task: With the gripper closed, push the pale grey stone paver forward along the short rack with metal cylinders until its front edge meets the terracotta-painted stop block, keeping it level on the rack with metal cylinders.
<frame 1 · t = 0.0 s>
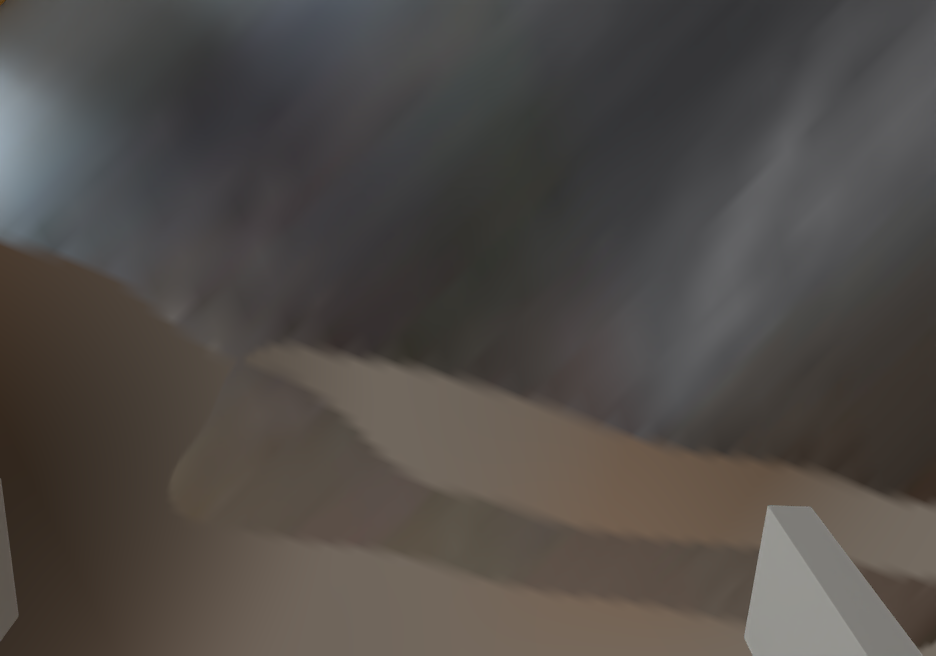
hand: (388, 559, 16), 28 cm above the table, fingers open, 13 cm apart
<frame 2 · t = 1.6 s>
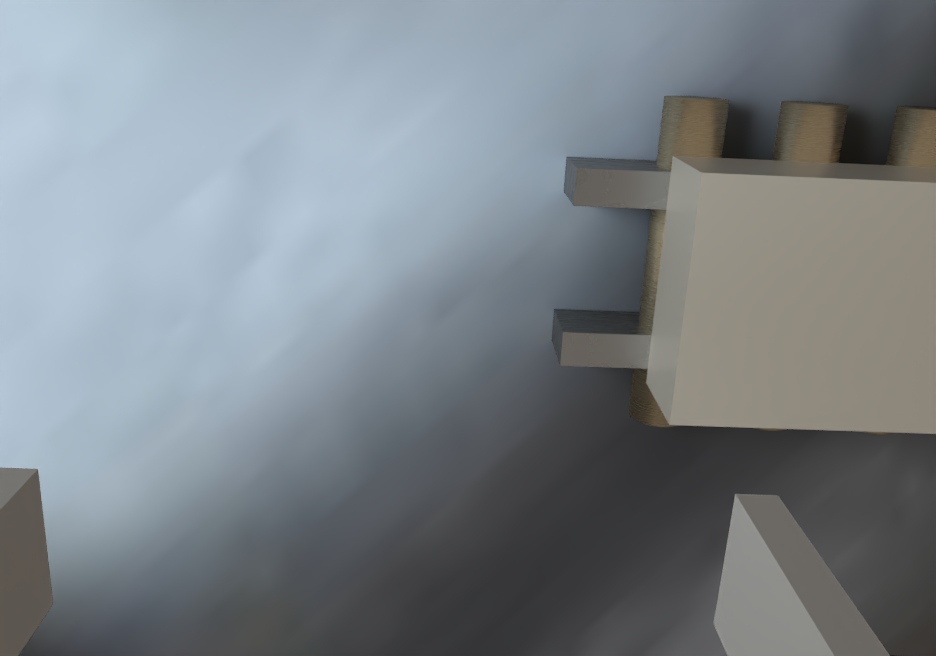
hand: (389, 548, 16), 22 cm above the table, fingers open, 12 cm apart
paver: (812, 280, 35), point 3 cm above the table, touching rack with metal cylinders
rack with metal cylinders: (879, 264, 38), on the table
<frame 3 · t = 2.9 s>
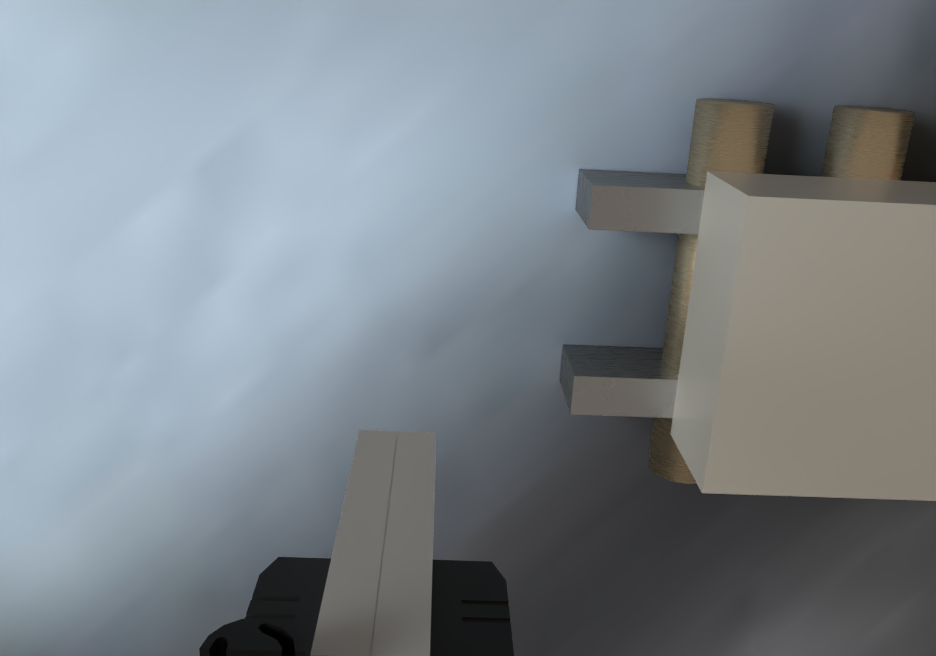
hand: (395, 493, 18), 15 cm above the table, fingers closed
paver: (868, 316, 29), point 3 cm above the table, touching rack with metal cylinders
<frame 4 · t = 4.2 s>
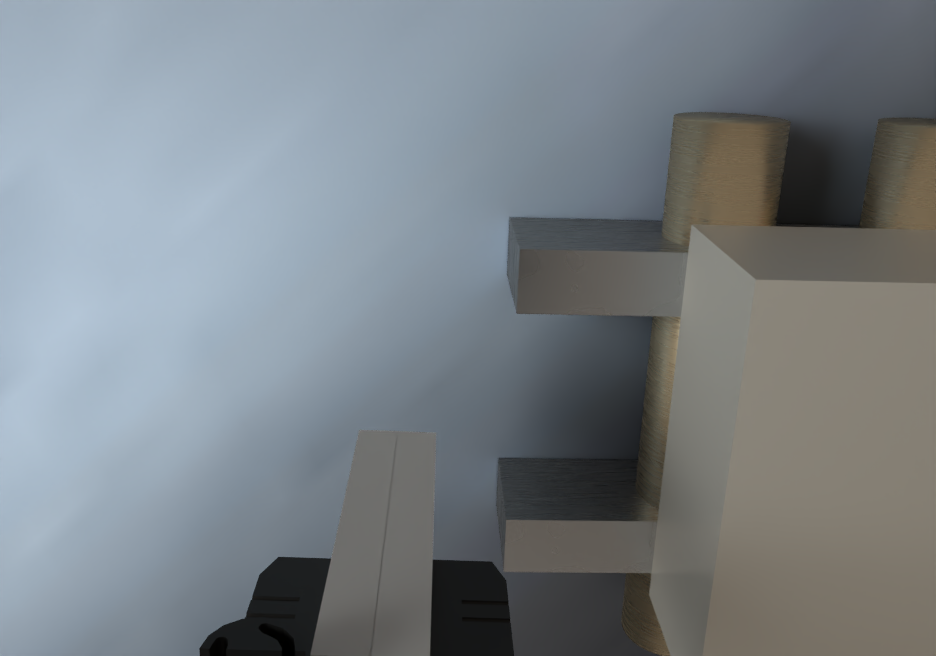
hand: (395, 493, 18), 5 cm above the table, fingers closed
paver: (933, 427, 20), point 3 cm above the table, touching rack with metal cylinders
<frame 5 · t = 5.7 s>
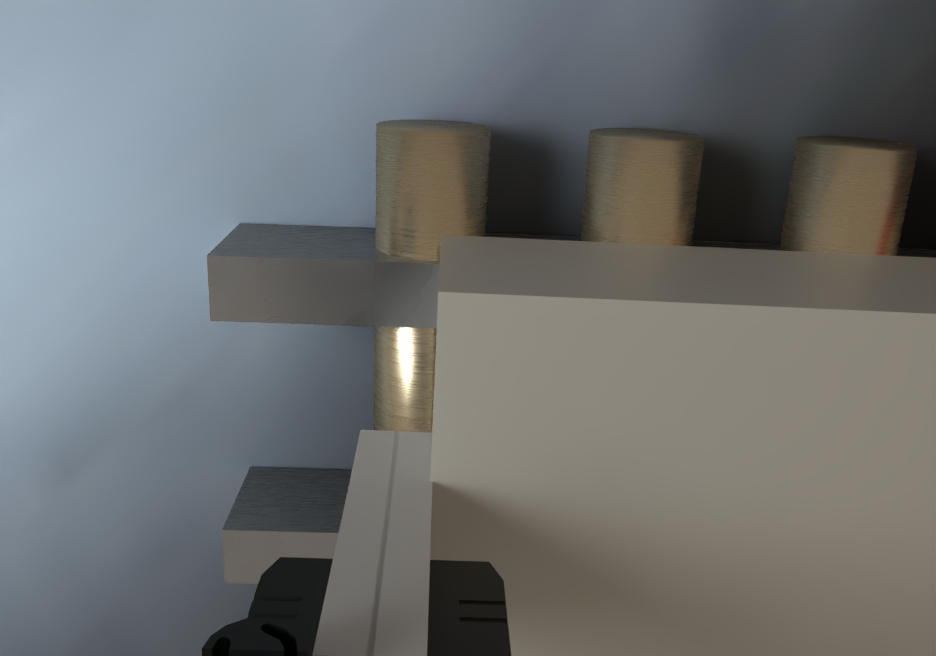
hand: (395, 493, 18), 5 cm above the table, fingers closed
paver: (703, 446, 20), point 3 cm above the table, touching rack with metal cylinders, gripper
rack with metal cylinders: (782, 394, 23), on the table
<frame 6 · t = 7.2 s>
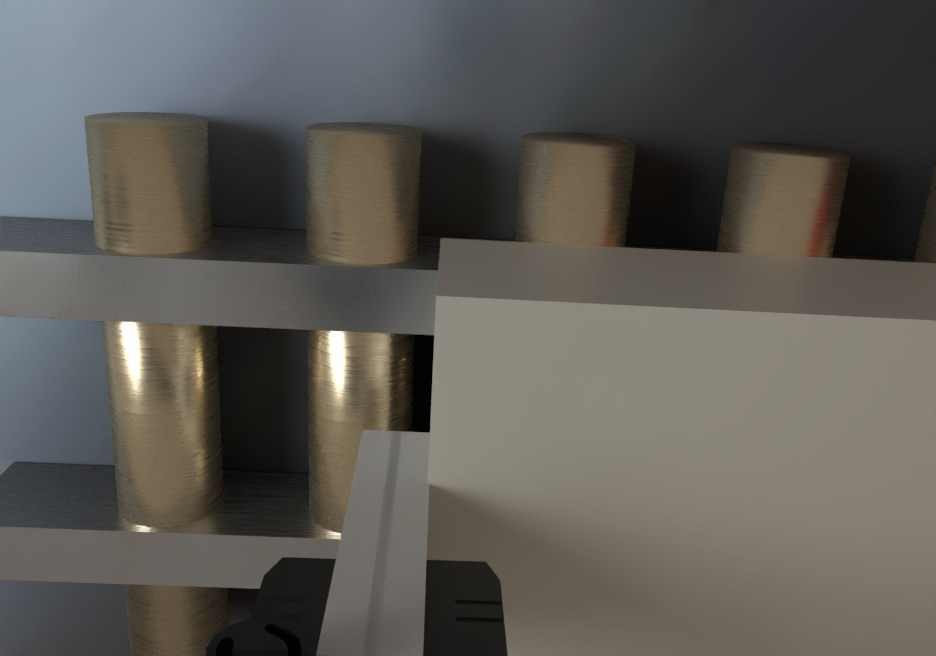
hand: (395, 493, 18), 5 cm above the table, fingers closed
paver: (704, 452, 20), point 3 cm above the table, touching rack with metal cylinders, gripper
rack with metal cylinders: (547, 394, 22), on the table
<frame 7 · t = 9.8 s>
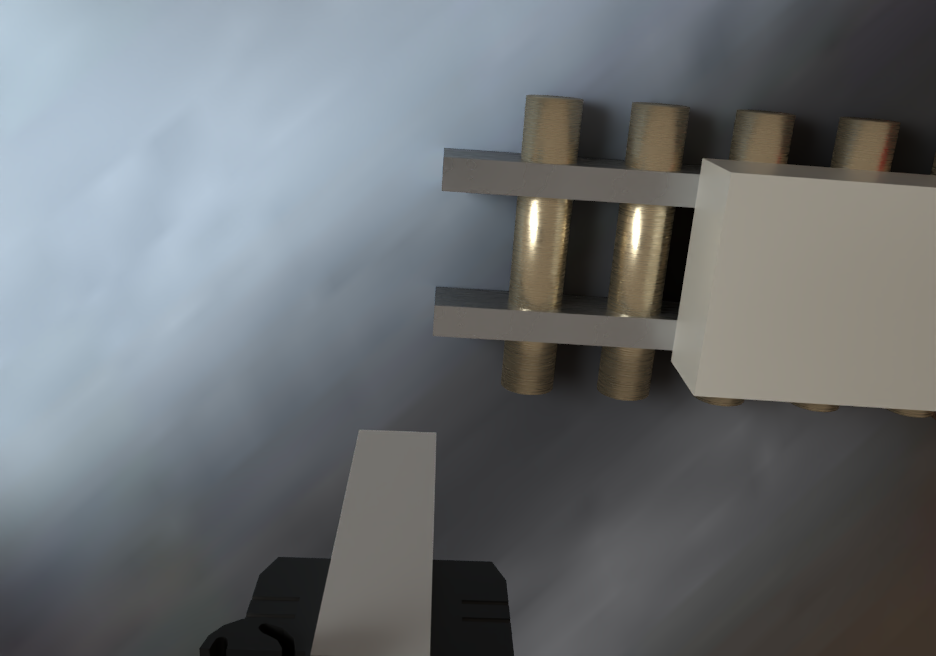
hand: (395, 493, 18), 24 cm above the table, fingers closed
paver: (823, 272, 39), point 3 cm above the table, touching rack with metal cylinders
rack with metal cylinders: (730, 253, 41), on the table
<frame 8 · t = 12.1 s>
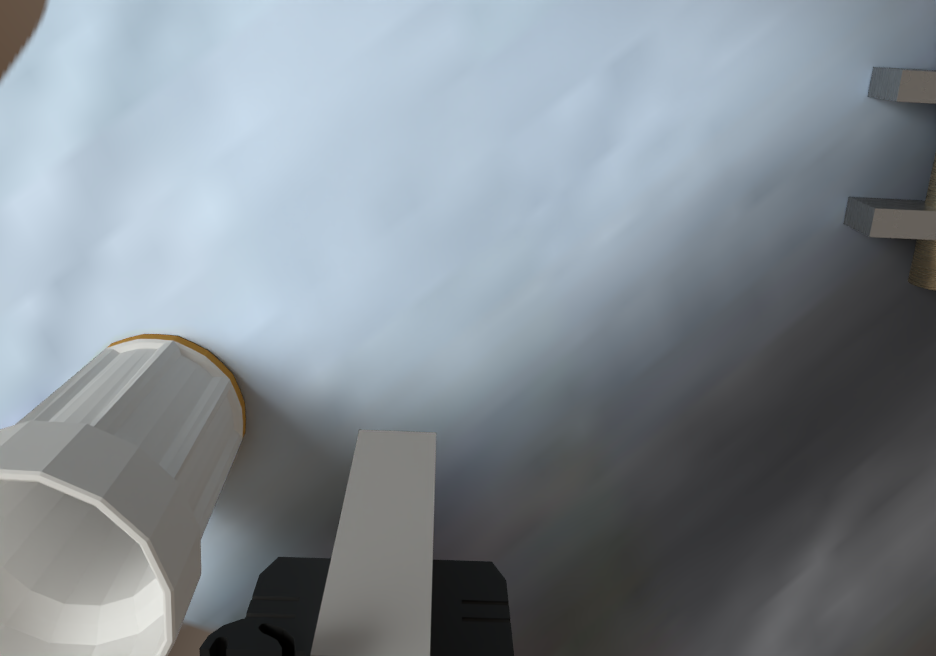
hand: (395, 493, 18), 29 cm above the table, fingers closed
cup: (163, 410, 49), on the table
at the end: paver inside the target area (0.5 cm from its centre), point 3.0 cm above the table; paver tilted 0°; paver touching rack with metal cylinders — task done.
